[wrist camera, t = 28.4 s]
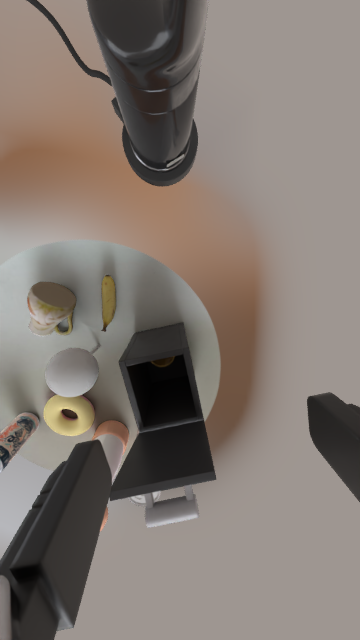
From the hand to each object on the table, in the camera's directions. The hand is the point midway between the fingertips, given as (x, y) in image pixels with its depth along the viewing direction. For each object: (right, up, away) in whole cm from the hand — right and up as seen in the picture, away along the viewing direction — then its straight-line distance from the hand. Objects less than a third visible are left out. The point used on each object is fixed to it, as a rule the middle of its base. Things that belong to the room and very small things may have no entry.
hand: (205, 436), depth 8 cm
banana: (-14, +8, +34) cm, 38 cm away
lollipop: (-17, -1, +36) cm, 40 cm away
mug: (-24, +6, +34) cm, 42 cm away
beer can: (-33, -17, +39) cm, 54 cm away
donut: (-24, -14, +39) cm, 48 cm away
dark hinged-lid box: (-4, -3, +37) cm, 37 cm away
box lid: (-2, -11, +18) cm, 21 cm away
